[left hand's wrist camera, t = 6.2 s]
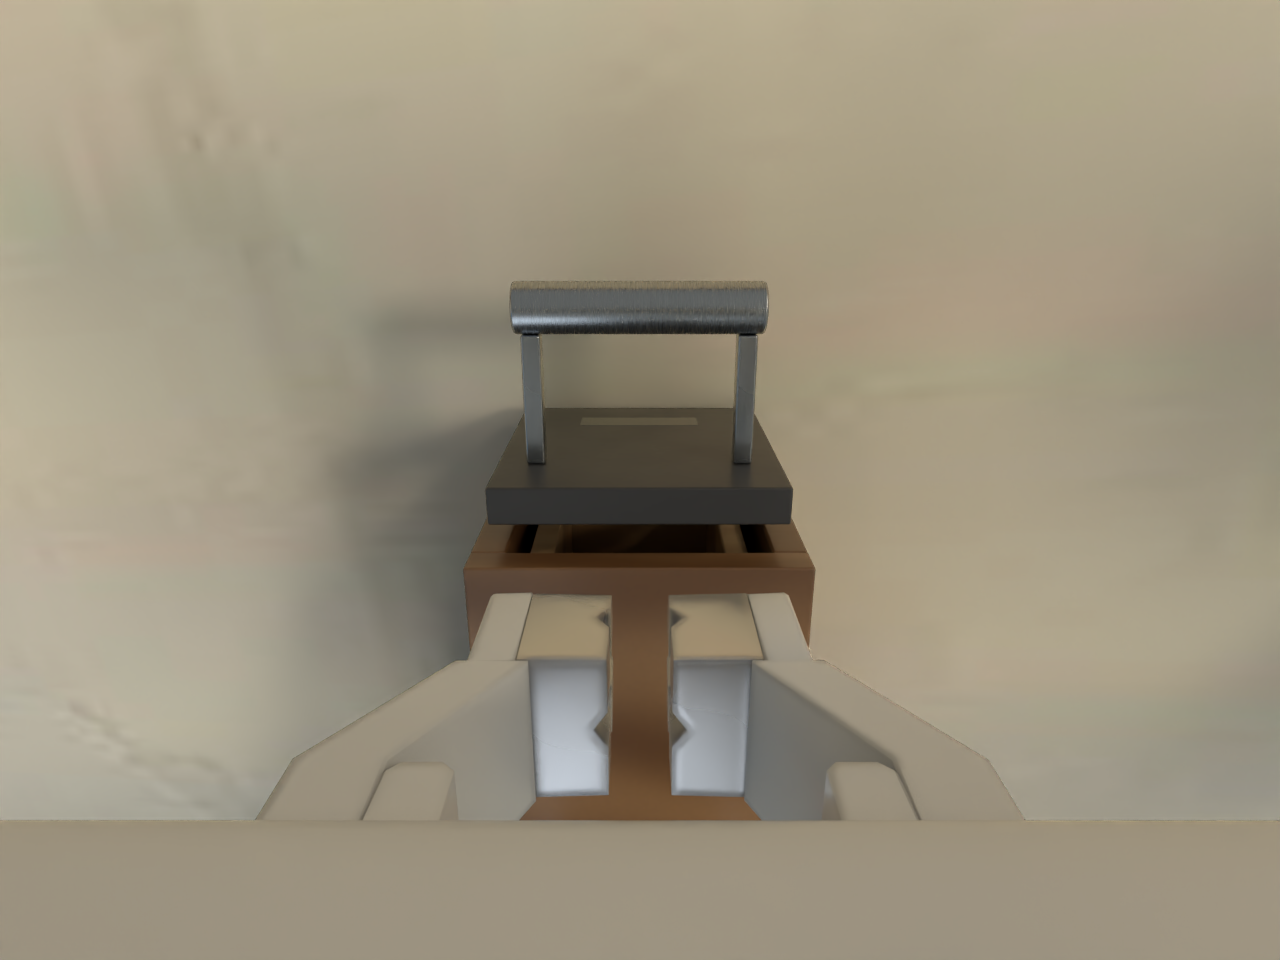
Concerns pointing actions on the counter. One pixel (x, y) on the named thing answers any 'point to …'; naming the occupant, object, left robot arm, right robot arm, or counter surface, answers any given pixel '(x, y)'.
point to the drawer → (639, 431)
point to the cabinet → (639, 646)
